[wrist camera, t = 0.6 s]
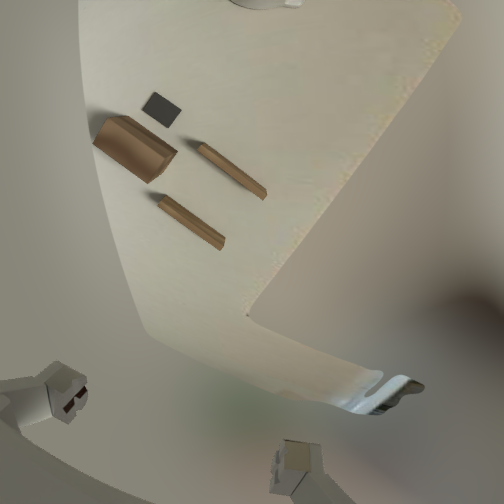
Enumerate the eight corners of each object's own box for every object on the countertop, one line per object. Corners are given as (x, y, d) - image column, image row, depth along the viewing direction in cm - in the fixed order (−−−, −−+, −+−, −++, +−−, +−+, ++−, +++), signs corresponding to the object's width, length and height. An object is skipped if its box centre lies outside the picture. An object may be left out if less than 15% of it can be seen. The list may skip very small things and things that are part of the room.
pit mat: (156, 92, 47) (155, 92, 47) (181, 110, 49) (181, 110, 48) (143, 110, 48) (142, 110, 48) (168, 127, 50) (167, 128, 50)
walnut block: (128, 116, 49) (107, 117, 41) (177, 151, 52) (164, 158, 44) (114, 138, 50) (92, 143, 42) (162, 172, 54) (147, 184, 46)
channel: (204, 142, 51) (201, 144, 48) (266, 189, 55) (267, 195, 52) (163, 199, 56) (157, 206, 52) (221, 242, 60) (219, 250, 56)
